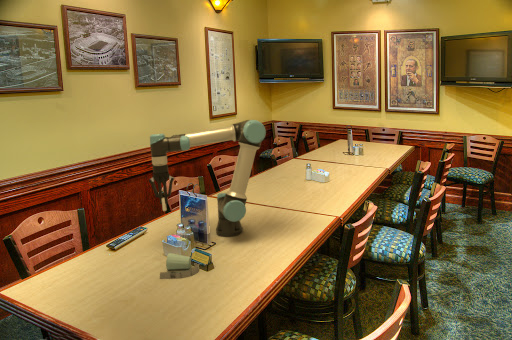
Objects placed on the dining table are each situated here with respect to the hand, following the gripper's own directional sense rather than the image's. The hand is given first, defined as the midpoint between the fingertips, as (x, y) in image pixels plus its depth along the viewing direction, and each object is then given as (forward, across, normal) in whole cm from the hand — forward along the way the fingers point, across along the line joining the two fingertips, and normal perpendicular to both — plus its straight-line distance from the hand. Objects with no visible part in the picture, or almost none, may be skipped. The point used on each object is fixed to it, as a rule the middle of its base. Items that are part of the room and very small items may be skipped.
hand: (164, 210), depth 226 cm
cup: (+25, -12, +22) cm, 36 cm away
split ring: (+24, -8, +23) cm, 35 cm away
